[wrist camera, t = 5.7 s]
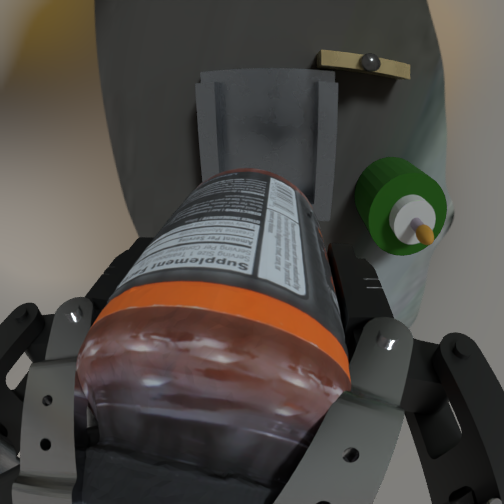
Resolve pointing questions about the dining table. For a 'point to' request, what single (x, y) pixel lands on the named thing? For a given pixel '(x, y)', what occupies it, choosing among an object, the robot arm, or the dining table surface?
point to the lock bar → (362, 64)
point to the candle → (400, 206)
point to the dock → (271, 126)
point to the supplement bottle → (215, 351)
